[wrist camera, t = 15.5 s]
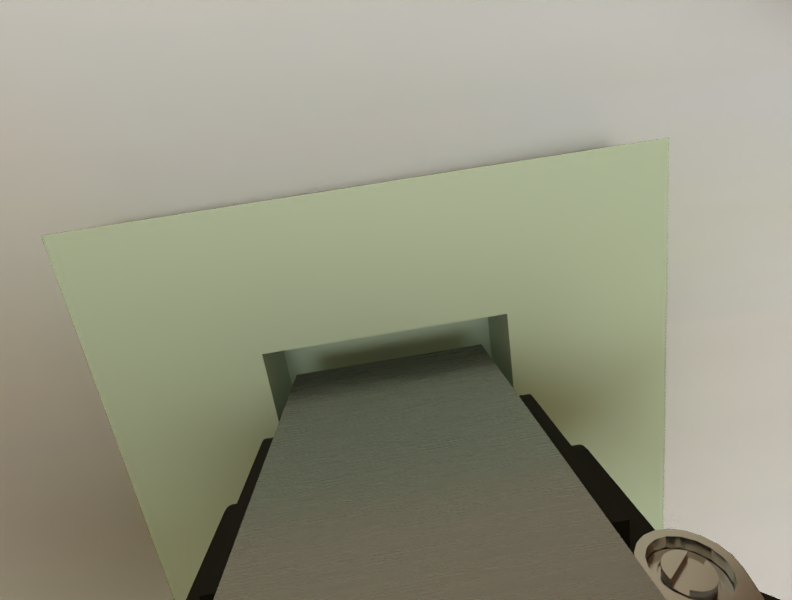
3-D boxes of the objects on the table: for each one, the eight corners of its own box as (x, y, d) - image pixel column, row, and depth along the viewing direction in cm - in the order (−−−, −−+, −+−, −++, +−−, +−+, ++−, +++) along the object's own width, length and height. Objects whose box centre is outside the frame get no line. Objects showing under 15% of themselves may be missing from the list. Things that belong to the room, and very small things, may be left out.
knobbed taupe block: (497, 499, 12) (755, 1120, 4) (331, 528, 12) (259, 1227, 4) (481, 344, 11) (806, 793, 3) (296, 374, 11) (89, 935, 3)
